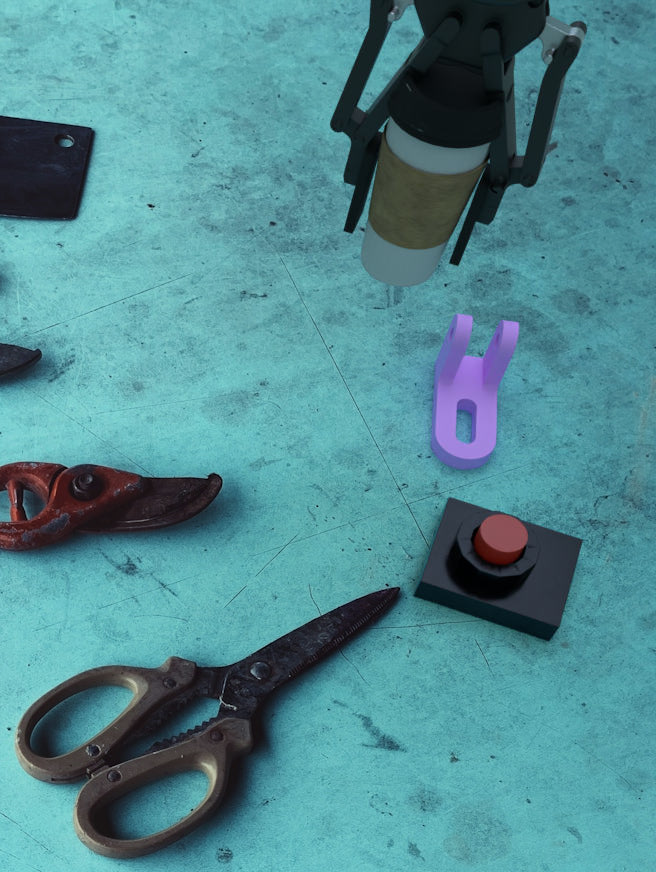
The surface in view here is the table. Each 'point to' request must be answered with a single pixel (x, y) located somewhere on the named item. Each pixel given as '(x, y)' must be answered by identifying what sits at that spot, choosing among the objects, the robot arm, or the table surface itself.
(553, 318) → the table surface
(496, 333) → the bracket
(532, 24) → the robot arm
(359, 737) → the table surface
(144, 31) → the table surface
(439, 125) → the coffee cup
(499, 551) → the button
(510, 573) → the switch box
